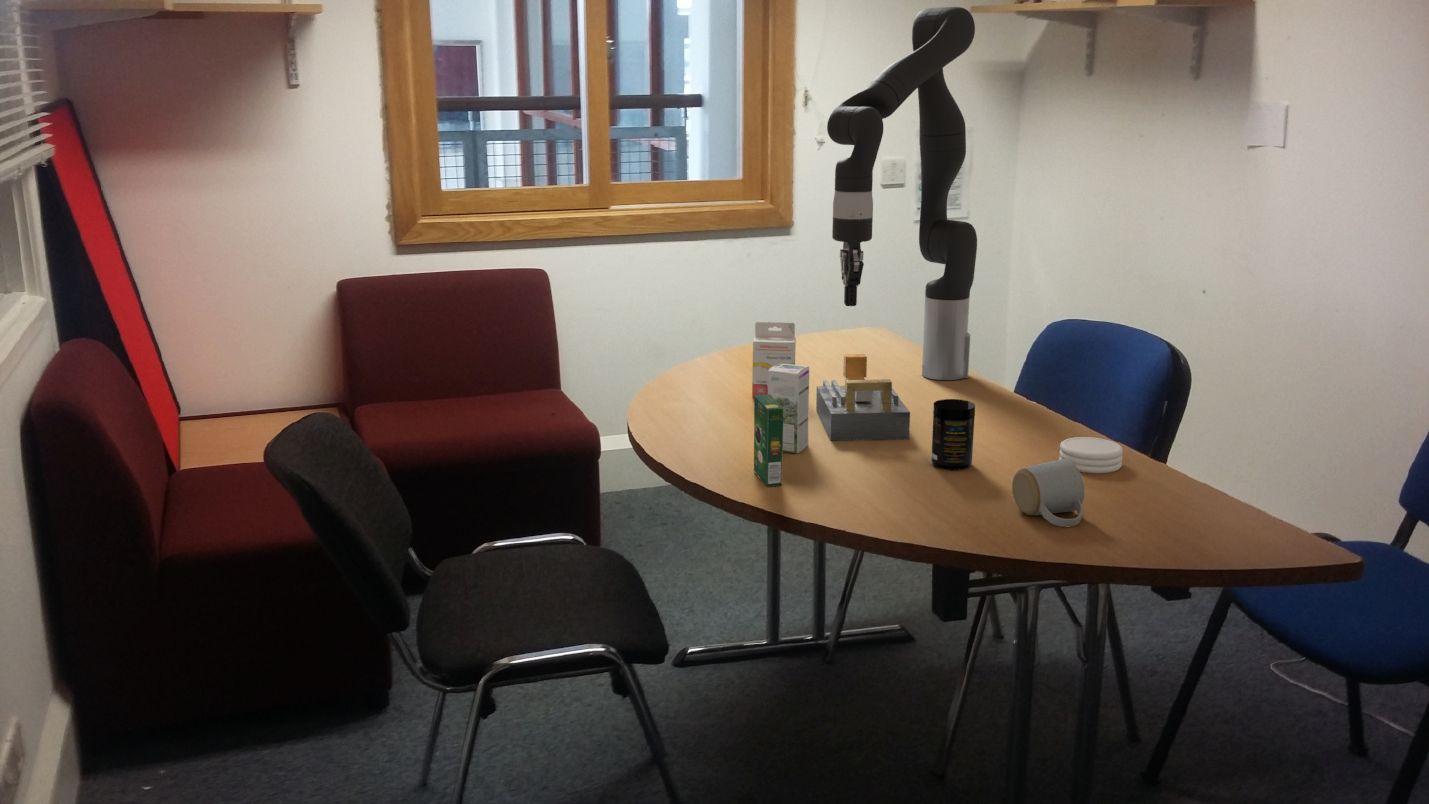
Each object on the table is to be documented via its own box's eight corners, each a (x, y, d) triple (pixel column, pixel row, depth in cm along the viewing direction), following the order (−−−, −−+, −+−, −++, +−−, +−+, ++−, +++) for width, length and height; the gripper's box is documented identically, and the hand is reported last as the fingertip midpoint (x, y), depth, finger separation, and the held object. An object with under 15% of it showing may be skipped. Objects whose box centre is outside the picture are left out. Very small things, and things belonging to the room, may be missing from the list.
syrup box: (809, 445, 204) (810, 364, 200) (797, 454, 198) (798, 372, 195) (779, 441, 206) (779, 361, 202) (766, 450, 201) (766, 369, 197)
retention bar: (863, 384, 223) (864, 353, 221) (875, 401, 211) (876, 369, 210) (843, 384, 223) (843, 354, 221) (853, 401, 211) (854, 369, 209)
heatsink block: (888, 409, 225) (890, 359, 222) (909, 439, 207) (911, 384, 204) (816, 411, 224) (817, 360, 222) (830, 440, 206) (831, 386, 203)
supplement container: (979, 469, 191) (983, 407, 188) (943, 473, 189) (946, 411, 186) (959, 456, 197) (962, 397, 194) (923, 461, 195) (926, 401, 192)
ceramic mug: (1006, 506, 174) (1010, 458, 172) (1053, 499, 177) (1057, 452, 174) (1048, 532, 164) (1052, 481, 162) (1097, 525, 167) (1101, 475, 165)
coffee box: (783, 486, 183) (784, 406, 180) (766, 488, 182) (766, 407, 179) (770, 470, 191) (770, 393, 187) (753, 471, 190) (753, 394, 187)
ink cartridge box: (751, 398, 234) (751, 326, 230) (753, 391, 239) (753, 321, 235) (794, 398, 233) (795, 326, 229) (795, 392, 238) (796, 321, 234)
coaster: (1046, 459, 196) (1047, 439, 195) (1095, 452, 199) (1096, 433, 198) (1084, 477, 187) (1085, 457, 186) (1134, 470, 190) (1136, 449, 189)
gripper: (878, 218, 214) (875, 311, 218) (866, 211, 227) (863, 299, 231) (838, 219, 213) (836, 312, 218) (827, 211, 226) (826, 299, 231)
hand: (850, 305), depth 225 cm, fingers closed
